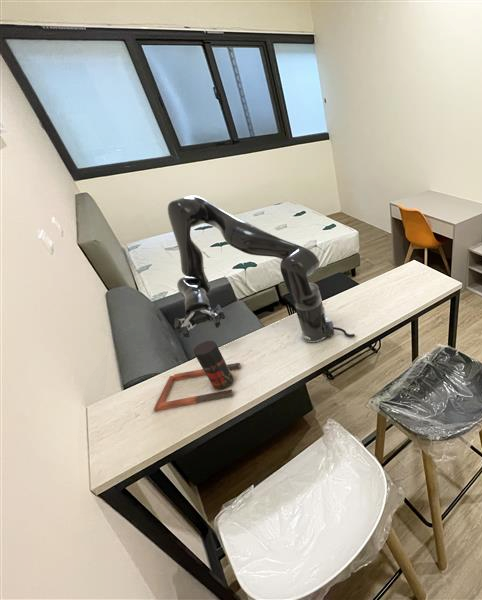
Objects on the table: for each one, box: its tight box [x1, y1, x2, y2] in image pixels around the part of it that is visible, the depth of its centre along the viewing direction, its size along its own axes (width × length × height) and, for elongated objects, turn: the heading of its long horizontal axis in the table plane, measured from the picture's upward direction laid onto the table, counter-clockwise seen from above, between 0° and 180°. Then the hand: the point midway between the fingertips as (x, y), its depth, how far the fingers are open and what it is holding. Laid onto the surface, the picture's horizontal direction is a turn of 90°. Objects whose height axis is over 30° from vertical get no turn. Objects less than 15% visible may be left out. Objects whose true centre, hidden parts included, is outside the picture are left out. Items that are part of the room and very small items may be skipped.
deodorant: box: [193, 340, 235, 391], centre depth 97 cm, size 6×6×15 cm
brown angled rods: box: [153, 362, 242, 412], centre depth 100 cm, size 22×13×2 cm, turn 102°
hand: (202, 330), depth 102 cm, fingers open, 8 cm apart
